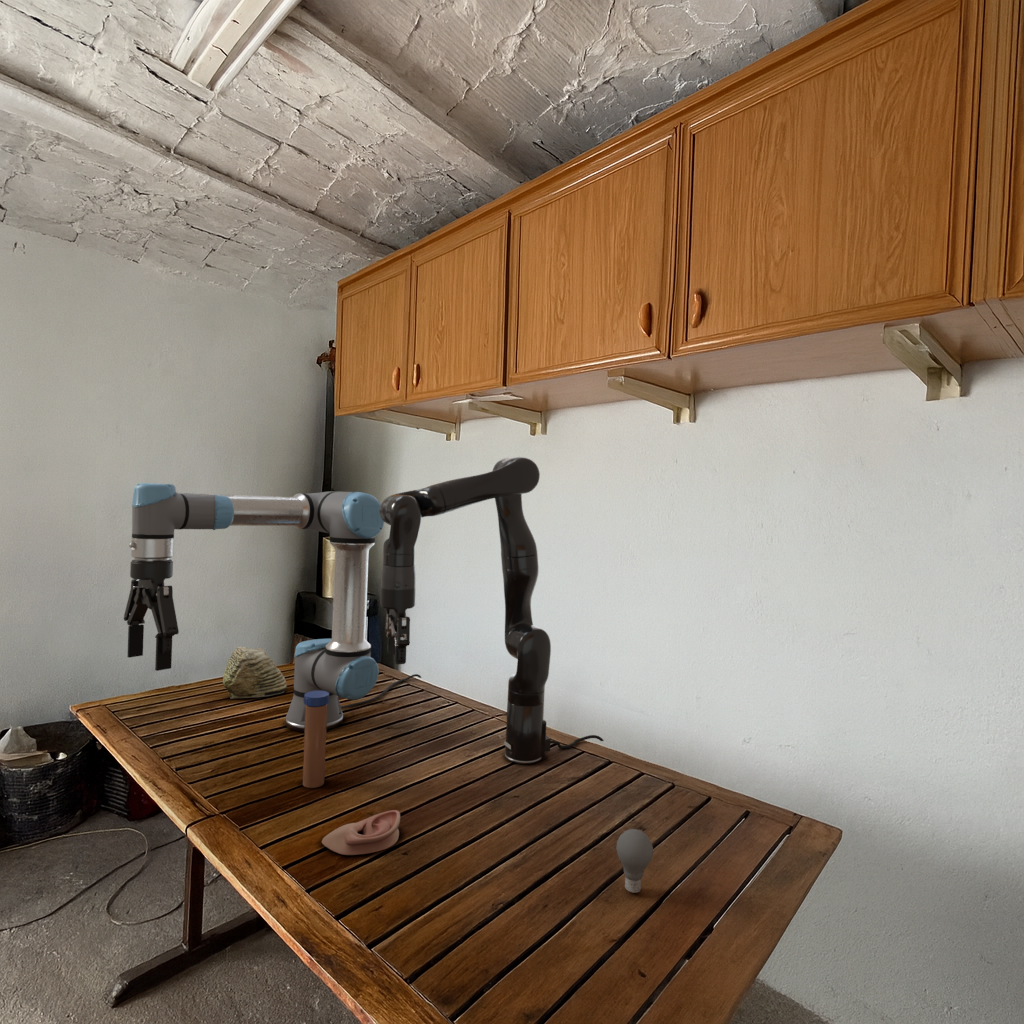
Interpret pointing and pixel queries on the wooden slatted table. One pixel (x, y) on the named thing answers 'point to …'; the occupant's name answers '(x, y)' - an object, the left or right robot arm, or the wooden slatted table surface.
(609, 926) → the wooden slatted table surface
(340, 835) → the anatomical model
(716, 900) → the wooden slatted table surface
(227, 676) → the fossil
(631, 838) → the light bulb
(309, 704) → the lid
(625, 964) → the wooden slatted table surface
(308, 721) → the brown tube
